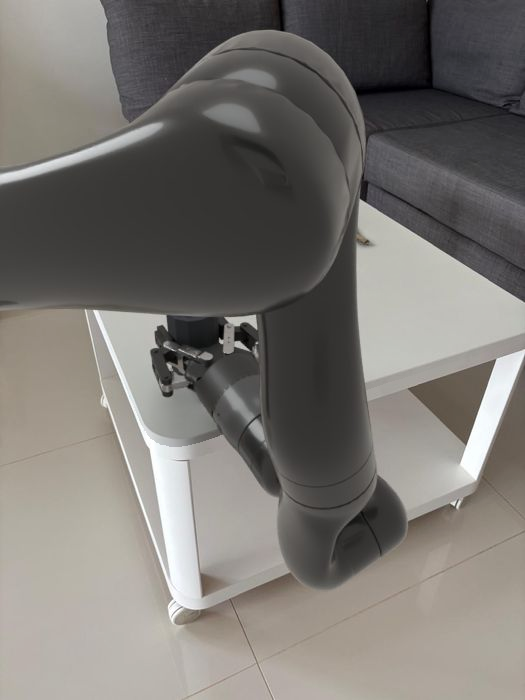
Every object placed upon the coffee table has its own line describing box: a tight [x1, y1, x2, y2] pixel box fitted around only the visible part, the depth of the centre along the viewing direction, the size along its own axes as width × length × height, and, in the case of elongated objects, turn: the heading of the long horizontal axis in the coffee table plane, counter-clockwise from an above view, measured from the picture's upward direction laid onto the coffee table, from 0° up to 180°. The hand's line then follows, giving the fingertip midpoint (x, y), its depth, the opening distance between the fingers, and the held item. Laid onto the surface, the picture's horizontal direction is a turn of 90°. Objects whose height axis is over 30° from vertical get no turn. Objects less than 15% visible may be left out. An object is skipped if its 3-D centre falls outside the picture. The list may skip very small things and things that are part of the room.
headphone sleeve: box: [165, 315, 220, 376], centre depth 66 cm, size 6×6×10 cm
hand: (186, 324), depth 67 cm, fingers closed on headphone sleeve, 6 cm apart
